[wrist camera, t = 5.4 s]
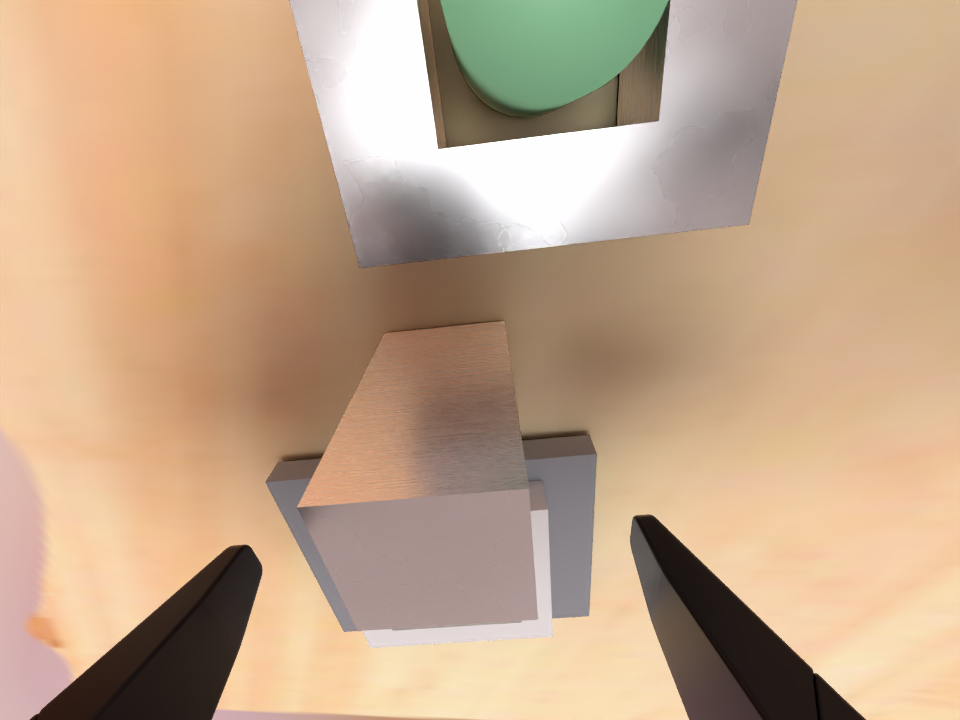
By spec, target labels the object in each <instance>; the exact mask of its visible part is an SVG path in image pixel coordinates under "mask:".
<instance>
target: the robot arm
mask: <svg viewBox="0 0 960 720" xmlns="http://www.w3.org/2000/svg"><path fill="white" fill-rule="evenodd" d="M630 544H631V549H632V553H633V557H634V560H635V564H636V567H637V571H638V575H639V578H640V582H641V585H642V589H643V593H644V596H645V600H646V603H647V607H648V611H649V614H650V617H651V621H652V624H653V627H654V629H655V632H656V635H657V637H658V640H659V643H660V645H661V648H662V650H663V653H664V655H665V658H666V661H667V663H668V666H669V668H670V671H671V674H672V676H673V679H674V681H675V684H676V686H677V689H678V692H679V694H680V697H681V699H682V702H683V704H684V707H685V710H686V712H687V715H688V717H689V720H866V719H865V718H864V717H863V716H862V715H860V714H859V713H858V712H857V711H856V710H855V709H854V708H853V707H852V706H851V705H850V704H849V703H848V702H847V701H845V700H844V699H843V698H842V697H841V696H840V695H839V694H838V693H837V692H836V691H835V690H834V689H833V688H832V687H831V686H830V685H829V684H828V683H827V682H826V681H825V680H824V679H823V678H822V677H820V676H819V675H818V674H817V673H813V669H812V668H811V667H810V666H809V665H808V664H807V663H806V662H805V661H804V660H803V659H802V658H801V657H800V656H799V655H797V654H796V653H795V652H794V651H793V650H792V649H791V648H790V647H789V646H788V645H787V644H786V643H785V642H784V641H783V640H782V639H781V638H780V637H779V636H778V635H777V634H776V633H775V632H774V631H773V630H772V629H771V628H769V627H768V626H767V625H766V624H765V623H764V622H763V621H762V620H761V619H760V618H759V617H758V616H757V615H756V614H755V613H754V612H753V611H752V610H751V609H750V608H749V607H748V606H747V605H746V604H745V603H744V602H743V601H741V600H740V599H739V598H738V597H737V596H736V595H735V594H734V593H733V592H732V591H731V590H730V589H729V588H728V587H727V586H726V585H725V584H724V583H723V582H722V581H721V580H720V579H719V578H718V577H717V576H716V575H715V574H713V573H712V572H711V571H710V570H709V569H708V568H707V567H706V566H705V565H704V564H703V563H702V562H701V561H700V560H699V559H698V558H697V557H696V556H695V555H694V554H693V553H692V552H691V551H690V550H689V549H688V548H687V547H685V546H684V545H683V544H682V543H681V542H680V541H679V540H678V539H677V538H676V537H675V536H674V535H673V534H672V533H671V532H670V531H669V530H668V529H667V528H666V527H665V526H664V525H663V524H662V523H661V522H660V521H659V520H657V519H656V518H655V517H654V516H652V515H636V516H634V517H633V520H632V527H631V536H630ZM261 576H262V565H261V563H260V561H259V560H258V558H257V556H256V555H255V553H254V552H253V550H252V548H251V547H250V546H249V545H234V546H230V547H228V548H227V549H225V550H224V551H223V552H222V553H221V554H220V555H218V556H217V557H216V558H215V559H214V560H213V561H212V562H210V563H209V564H208V565H207V566H206V567H205V568H204V569H202V570H201V571H200V572H199V573H198V574H197V575H195V576H194V577H193V578H192V579H191V580H190V581H189V582H187V583H186V584H185V585H184V586H183V587H182V588H181V589H179V590H178V591H177V592H176V593H175V594H174V595H172V596H171V597H170V598H169V599H168V600H167V601H166V602H164V603H163V604H162V605H161V606H160V607H159V608H158V609H156V610H155V611H154V612H153V613H152V614H151V615H150V616H148V617H147V618H146V619H145V620H144V621H143V622H141V623H140V624H139V625H138V626H137V627H136V628H135V629H133V630H132V631H131V632H130V633H129V634H128V635H127V636H125V637H124V638H123V639H122V640H121V641H120V642H118V643H117V644H116V645H115V646H114V647H113V648H112V649H110V650H109V651H108V652H107V653H106V654H105V655H104V656H102V657H101V658H100V659H99V660H98V661H97V662H96V663H94V664H93V665H92V666H91V667H90V668H89V669H87V670H86V671H85V672H84V673H83V674H82V675H81V676H79V677H78V678H77V679H76V680H75V681H74V682H73V683H71V684H70V685H69V686H68V687H67V688H66V689H65V690H63V691H62V692H61V693H60V694H59V695H58V696H57V697H55V698H54V699H53V700H52V701H51V702H50V703H48V704H47V705H46V706H45V707H44V708H43V709H42V710H41V711H40V713H39V714H36V715H34V716H33V717H32V718H31V719H30V720H212V718H213V715H214V713H215V710H216V707H217V705H218V702H219V700H220V697H221V695H222V692H223V690H224V687H225V685H226V682H227V680H228V677H229V675H230V672H231V670H232V667H233V664H234V662H235V659H236V657H237V654H238V651H239V649H240V646H241V643H242V640H243V637H244V634H245V630H246V627H247V624H248V620H249V617H250V613H251V610H252V607H253V603H254V600H255V597H256V593H257V590H258V587H259V583H260V580H261Z"/></svg>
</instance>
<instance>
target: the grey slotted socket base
mask: <svg viewBox="0 0 960 720" xmlns="http://www.w3.org/2000/svg"><path fill="white" fill-rule="evenodd" d="M522 444H523V451H524V458H525V465H526V471H527V478H528V485H529V495H530V509H531V524H532V538H533V553H534V567H535V582H536V596H537V610H538V620H524V621H508V622H493V623H477V624H461V625H446V626H430V627H415V628H399V629H383V630H368V631H363V633H364V635H365V637H366V639H367V641H368V644H369V646H370V648H377V647H393V646H409V645H425V644H441V643H458V642H474V641H490V640H506V639H522V638H538V637H553V631H552V618H566V617H581V616H589V607H590V586H591V565H592V543H593V522H594V501H595V479H596V458H597V454H596V451H595V448H594V446H593V443H592V441H591V438H590V435H582V436H571V437H559V438H548V439H536V440H525V441H522ZM321 459H322V458H320V459H308V460H297V461H285V462H278V463H277V465H276V466H275V468H274V470H273V471H272V473H271V474H270V476H269V477H268V479H267V481H266V484H267V486H268V488H269V490H270V492H271V494H272V496H273V498H274V500H275V501H276V503H277V505H278V507H279V509H280V511H281V513H282V515H283V517H284V519H285V520H286V522H287V524H288V526H289V528H290V530H291V532H292V534H293V536H294V538H295V539H296V541H297V543H298V545H299V547H300V549H301V551H302V553H303V555H304V557H305V558H306V560H307V562H308V564H309V566H310V568H311V570H312V572H313V574H314V576H315V577H316V579H317V581H318V583H319V585H320V587H321V589H322V591H323V593H324V595H325V597H326V598H327V600H328V602H329V604H330V606H331V608H332V610H333V612H334V614H335V616H336V617H337V619H338V621H339V623H340V625H341V627H342V629H343V631H344V632H348V631H357V629H356V627H355V624H354V622H353V620H352V618H351V616H350V614H349V612H348V610H347V608H346V606H345V604H344V602H343V600H342V598H341V596H340V594H339V592H338V590H337V588H336V586H335V584H334V582H333V580H332V578H331V576H330V574H329V572H328V570H327V568H326V566H325V564H324V562H323V560H322V558H321V555H320V553H319V551H318V549H317V547H316V545H315V543H314V541H313V539H312V537H311V535H310V533H309V531H308V529H307V527H306V525H305V523H304V521H303V519H302V517H301V515H300V513H299V511H298V509H297V506H298V504H299V502H300V500H301V498H302V496H303V494H304V492H305V490H306V488H307V486H308V484H309V482H310V480H311V479H312V477H313V475H314V473H315V471H316V469H317V467H318V465H319V463H320V461H321Z"/></svg>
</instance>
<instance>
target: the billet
mask: <svg viewBox="0 0 960 720" xmlns="http://www.w3.org/2000/svg"><path fill="white" fill-rule="evenodd" d="M297 509H298V511H299V513H300V515H301V517H302V519H303V521H304V523H305V525H306V527H307V529H308V531H309V533H310V535H311V537H312V539H313V541H314V543H315V545H316V547H317V549H318V551H319V553H320V555H321V558H322V560H323V562H324V564H325V566H326V568H327V570H328V572H329V574H330V576H331V578H332V580H333V582H334V584H335V586H336V588H337V590H338V592H339V594H340V596H341V598H342V600H343V602H344V604H345V606H346V608H347V610H348V612H349V614H350V616H351V618H352V620H353V622H354V624H355V627H356V629H357V631H368V630H383V629H399V628H415V627H430V626H446V625H461V624H477V623H493V622H508V621H524V620H538V610H537V596H536V582H535V567H534V553H533V538H532V524H531V509H530V495H529V485H528V478H527V471H526V465H525V458H524V451H523V444H522V438H521V431H520V424H519V417H518V410H517V404H516V397H515V390H514V383H513V377H512V370H511V363H510V356H509V349H508V343H507V336H506V329H505V322H504V321H497V322H488V323H478V324H469V325H459V326H449V327H440V328H430V329H420V330H411V331H401V332H391V333H385V334H384V336H383V338H382V339H381V341H380V343H379V345H378V347H377V349H376V351H375V353H374V355H373V357H372V359H371V361H370V363H369V365H368V367H367V369H366V371H365V373H364V375H363V377H362V379H361V381H360V383H359V385H358V387H357V389H356V391H355V393H354V395H353V397H352V399H351V401H350V403H349V405H348V407H347V409H346V411H345V413H344V415H343V417H342V419H341V421H340V423H339V425H338V427H337V429H336V431H335V433H334V435H333V437H332V439H331V441H330V443H329V445H328V447H327V449H326V451H325V453H324V455H323V457H322V459H321V461H320V463H319V465H318V467H317V469H316V471H315V473H314V475H313V477H312V479H311V480H310V482H309V484H308V486H307V488H306V490H305V492H304V494H303V496H302V498H301V500H300V502H299V504H298V506H297Z"/></svg>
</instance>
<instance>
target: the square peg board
mask: <svg viewBox="0 0 960 720" xmlns="http://www.w3.org/2000/svg"><path fill="white" fill-rule="evenodd" d="M289 1H290V5H291V9H292V13H293V16H294V20H295V24H296V28H297V32H298V35H299V39H300V43H301V47H302V50H303V54H304V58H305V62H306V66H307V69H308V73H309V77H310V81H311V85H312V88H313V92H314V96H315V100H316V104H317V107H318V111H319V115H320V119H321V123H322V126H323V130H324V134H325V138H326V141H327V145H328V149H329V153H330V157H331V160H332V164H333V168H334V172H335V176H336V179H337V183H338V187H339V191H340V195H341V198H342V202H343V206H344V210H345V214H346V217H347V221H348V225H349V229H350V232H351V236H352V240H353V244H354V248H355V251H356V255H357V259H358V263H359V267H360V268H365V267H374V266H383V265H392V264H401V263H410V262H419V261H428V260H437V259H446V258H454V257H463V256H472V255H481V254H490V253H499V252H508V251H517V250H526V249H535V248H543V247H552V246H561V245H570V244H579V243H588V242H597V241H606V240H615V239H624V238H632V237H641V236H650V235H659V234H668V233H677V232H686V231H695V230H704V229H713V228H721V227H730V226H739V225H748V224H749V221H750V217H751V212H752V207H753V203H754V198H755V193H756V189H757V184H758V180H759V175H760V170H761V166H762V161H763V156H764V152H765V147H766V143H767V138H768V133H769V129H770V124H771V119H772V115H773V110H774V106H775V101H776V96H777V92H778V87H779V83H780V78H781V73H782V69H783V64H784V59H785V55H786V50H787V46H788V41H789V36H790V32H791V27H792V22H793V18H794V13H795V9H796V4H797V0H669V1H668V3H667V5H666V7H665V10H664V12H663V14H662V16H661V18H660V20H659V22H658V24H657V26H656V27H655V29H654V31H653V33H652V34H651V36H650V38H649V39H648V41H647V42H646V43H645V45H644V46H643V48H642V49H641V50H640V52H639V53H638V54H637V55H636V56H635V58H634V59H633V60H632V61H631V62H630V63H629V64H628V65H627V67H625V68H624V69H623V70H622V71H621V72H620V76H619V96H618V115H617V127H610V128H602V129H594V130H586V131H578V132H570V133H562V134H555V135H547V136H539V137H531V138H523V139H515V140H507V141H499V142H491V143H484V144H476V145H468V146H460V147H452V148H447V143H446V136H445V128H444V121H443V113H442V106H441V98H440V91H439V83H438V76H437V68H436V61H435V53H434V46H433V38H432V31H431V23H430V16H429V8H428V1H427V0H289Z"/></svg>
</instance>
